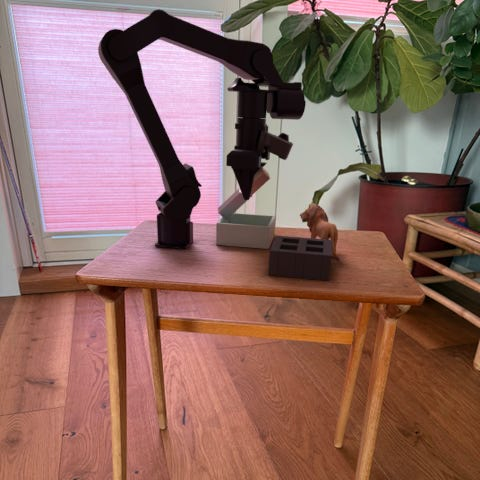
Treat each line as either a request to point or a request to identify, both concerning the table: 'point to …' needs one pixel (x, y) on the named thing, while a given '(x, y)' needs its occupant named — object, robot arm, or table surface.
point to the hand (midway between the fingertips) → (248, 198)
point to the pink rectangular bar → (237, 198)
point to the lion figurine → (320, 226)
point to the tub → (246, 230)
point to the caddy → (300, 258)
